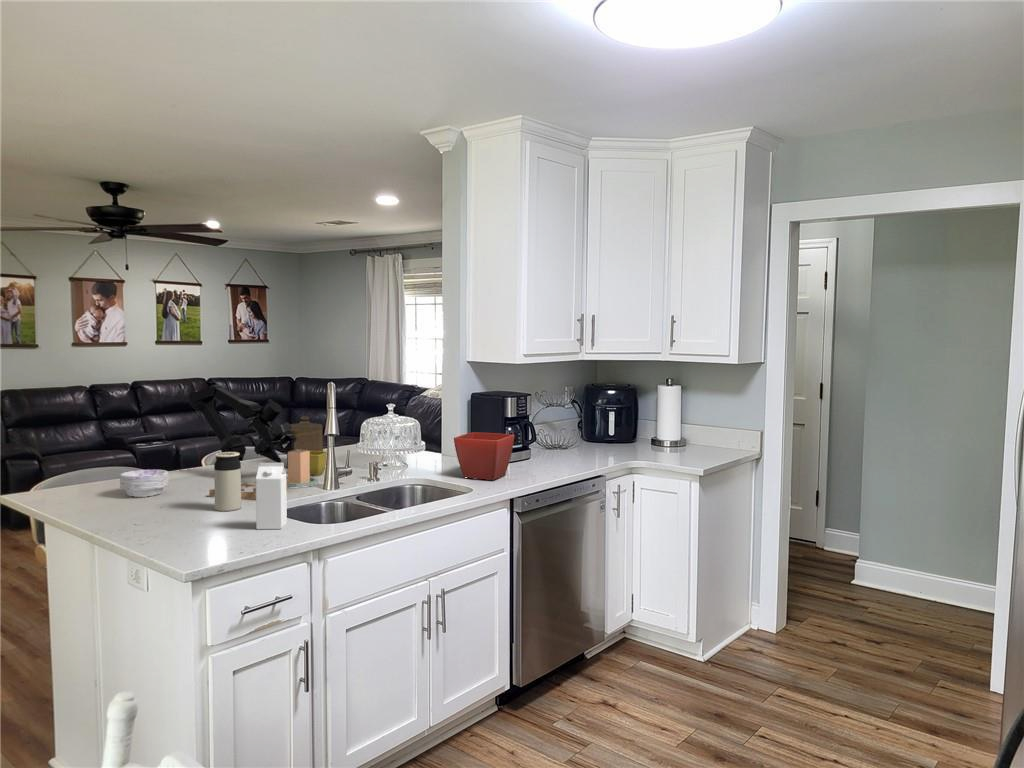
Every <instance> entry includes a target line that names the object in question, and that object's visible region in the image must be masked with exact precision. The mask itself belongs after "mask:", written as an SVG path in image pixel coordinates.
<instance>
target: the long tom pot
mask: <svg viewBox="0 0 1024 768" xmlns="http://www.w3.org/2000/svg"><path fill="white" fill-rule="evenodd" d="M287 477H289V483H307V482H310V477H311V475H310V451H308V450H299V449H297V450H292V451H290V452H288V468H287Z"/></svg>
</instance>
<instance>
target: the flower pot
mask: <svg viewBox="0 0 1024 768" xmlns="http://www.w3.org/2000/svg"><path fill="white" fill-rule="evenodd" d="M327 452H328V451H324V450H323V451H310V476H312V475H315V477H317V475H318V476H320V475H322V473H323V474H324V472H325V471H324V470H326V469H325V465H326V455H327Z"/></svg>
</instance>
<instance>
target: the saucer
mask: <svg viewBox="0 0 1024 768" xmlns="http://www.w3.org/2000/svg"><path fill="white" fill-rule="evenodd" d="M316 483H318V484H319V479H317V478H316V477H312V476H310V482H307V483H289V487H302V486H312V485H314V484H316ZM312 487H313V486H312Z"/></svg>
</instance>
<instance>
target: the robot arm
mask: <svg viewBox="0 0 1024 768" xmlns="http://www.w3.org/2000/svg"><path fill="white" fill-rule="evenodd" d="M187 399H188V402H189V404H190V405H191V407H192V408H194V409H195V410H196V411H197V412H200V413H201V414H202V416H203V417H204V418H205V420H206V422H207V423H208V425H209V426H210V428H211V430H212V431H213V432H214V434H215V436H216V437H217V439H218V441H219V443H220V445H219V446H220V447H219V448H220V452H221V453H222V452H238V453H240V455H239V458H238V459H239V461H240V462H243V460H244V457H245V454H246V450H247V449H246V443H245V442H243V440H242V438H241V437H240V436H233V435H232V433H231V431H230V430H229V429H228V427H227V425H226V424H225V422H224V420H223V419H222V417H221V415H219V413H218V412H217V410H216V408H215V407H214V406H215V405H214V400H215V399H217V400H219V401H220V402H223V403H224V404H226V405H228V406H229V407H231V408H233V409H234V410H235V412H236V413H237V415H238V416H240V418H242V419H244V420H248V419H252V420H251V421H248V422H247V423H248V424H247V430H248V429H249V430H250V429H253V430H255V432H256V433H257V434H258V437H257V438H258V439H259V440H260V441H258V443H257V444H256V446H254V447H253V448H254V450H253V451H254V452H255V454H256V455H257V456H259V455H260V456H262V457H264V458H266V459H269V460H271V461H273V462H274V463H283V462H282V459H281V457H280V456H279V455H278V453H277V451H276V450H275V447H280V449H282V452H284V453H285V454H286V455H287V454H288V452H290V451H292V450H295V449H294V443H295V441H296V439H297V438H296V436H295V435H294V434H290V435H287V432H290V430H291V425H290V424H291V423H289V422H284V423H282V424H280V425H278V426H276V425H275V426H273V425H272V424H271V423H273V422H274V421H275V420H277V418H278V417H279V416H280V415H281V414H282V413H283V407H282V405H280V404H279V403H278V402H275V401H274V400H273V399H267V400H266V402H265V403H264V404H263V405H262V406H261V405H260V404H259V403H257V402H254V401H251V400H246V399H244V398H242V397H240V396H238V395H236V394H234V393H232V392H231V391H229V390H228V389H225V387H223V386H222V385H210V386H208V387H206V388H203V389H200V390H193V391H191V392H190V393H189V394H188V398H187ZM284 434H285V435H284ZM241 476H242V477H243V474H241Z"/></svg>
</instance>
